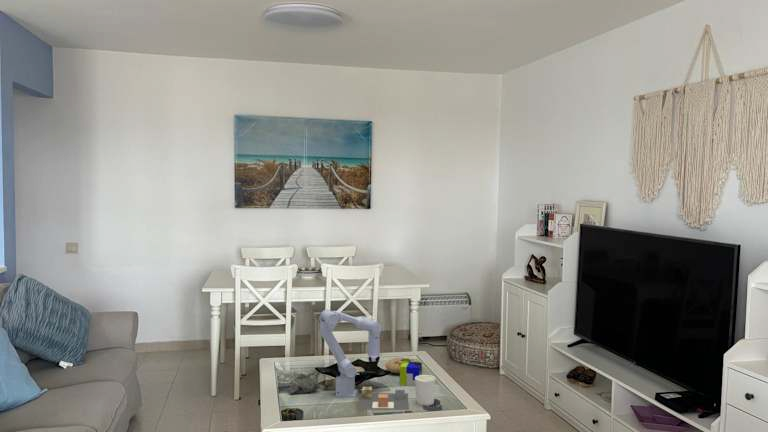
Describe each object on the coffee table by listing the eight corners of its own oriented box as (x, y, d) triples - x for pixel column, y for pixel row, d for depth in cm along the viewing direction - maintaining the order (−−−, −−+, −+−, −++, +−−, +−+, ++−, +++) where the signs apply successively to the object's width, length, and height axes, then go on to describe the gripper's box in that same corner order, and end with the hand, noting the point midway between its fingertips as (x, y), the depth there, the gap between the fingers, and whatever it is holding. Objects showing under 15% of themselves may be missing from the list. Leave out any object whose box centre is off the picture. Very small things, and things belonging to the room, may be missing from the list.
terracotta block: (378, 407, 269) (378, 397, 269) (378, 403, 274) (378, 394, 274) (387, 407, 269) (387, 397, 269) (387, 403, 274) (387, 394, 274)
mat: (356, 410, 266) (356, 409, 266) (359, 393, 288) (359, 393, 288) (408, 410, 266) (408, 409, 266) (407, 394, 288) (407, 393, 288)
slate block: (395, 399, 280) (395, 390, 280) (395, 396, 284) (395, 386, 284) (404, 399, 280) (404, 390, 280) (404, 396, 284) (404, 387, 284)
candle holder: (421, 407, 269) (421, 382, 269) (411, 401, 278) (411, 376, 277) (439, 404, 274) (439, 379, 273) (428, 398, 282) (428, 373, 282)
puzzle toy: (419, 386, 299) (419, 367, 299) (400, 385, 301) (400, 366, 301) (421, 380, 309) (421, 362, 308) (403, 379, 311) (403, 361, 310)
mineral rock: (320, 391, 292) (320, 371, 292) (309, 398, 282) (309, 377, 282) (298, 388, 298) (298, 368, 297) (286, 394, 288) (286, 374, 287)
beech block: (362, 399, 280) (362, 389, 280) (362, 395, 285) (362, 386, 284) (371, 399, 280) (371, 389, 280) (371, 395, 284) (371, 386, 284)
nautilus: (423, 369, 330) (423, 379, 315) (385, 366, 332) (383, 376, 317) (424, 356, 330) (423, 365, 315) (386, 353, 331) (384, 362, 316)
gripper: (381, 348, 286) (381, 375, 287) (382, 341, 301) (382, 367, 301) (367, 348, 286) (367, 375, 287) (368, 341, 301) (368, 367, 301)
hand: (374, 371), depth 294 cm, fingers closed
